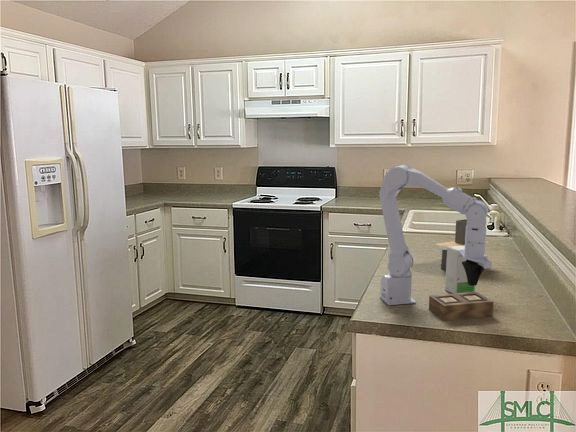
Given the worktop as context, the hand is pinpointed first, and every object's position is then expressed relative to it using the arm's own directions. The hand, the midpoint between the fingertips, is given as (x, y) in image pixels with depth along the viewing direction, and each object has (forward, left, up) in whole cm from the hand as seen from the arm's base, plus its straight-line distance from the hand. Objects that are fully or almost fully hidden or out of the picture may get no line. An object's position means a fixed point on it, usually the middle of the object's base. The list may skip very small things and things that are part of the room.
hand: (472, 284), depth 146 cm
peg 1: (-8, 0, -8) cm, 11 cm away
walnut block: (-4, 0, -8) cm, 9 cm away
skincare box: (+7, +18, -9) cm, 21 cm away
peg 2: (0, 0, -8) cm, 8 cm away
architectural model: (+23, +44, -9) cm, 50 cm away
